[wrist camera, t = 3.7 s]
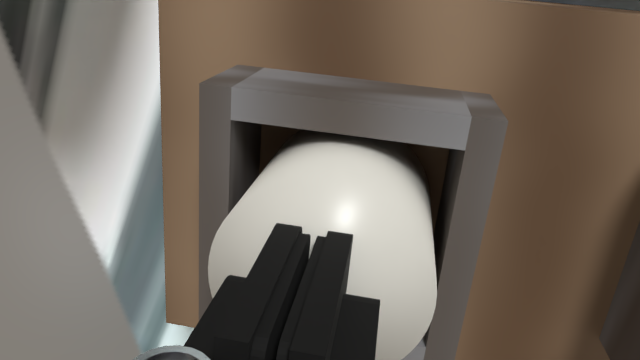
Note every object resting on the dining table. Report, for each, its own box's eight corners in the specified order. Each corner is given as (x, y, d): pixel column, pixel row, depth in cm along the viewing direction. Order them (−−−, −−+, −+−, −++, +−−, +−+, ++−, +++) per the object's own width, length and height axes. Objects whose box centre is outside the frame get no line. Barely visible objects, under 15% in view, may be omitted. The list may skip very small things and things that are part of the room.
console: (925, 38, 17) (1392, 92, 9) (777, 335, 22) (1002, 553, 14) (227, -29, 20) (98, -34, 12) (221, 245, 25) (124, 380, 16)
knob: (443, 130, 15) (457, 198, 10) (415, 282, 17) (417, 399, 12) (270, 108, 15) (208, 163, 11) (262, 257, 17) (207, 358, 13)
